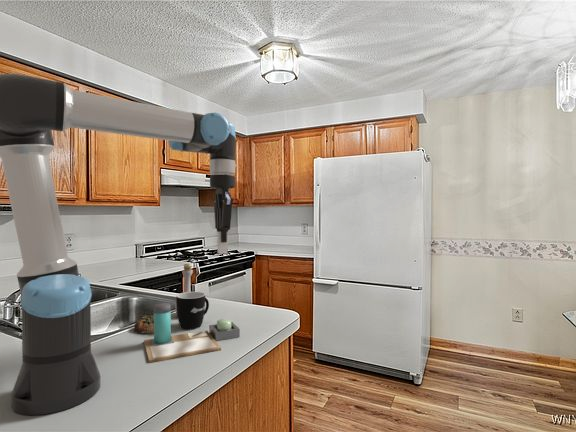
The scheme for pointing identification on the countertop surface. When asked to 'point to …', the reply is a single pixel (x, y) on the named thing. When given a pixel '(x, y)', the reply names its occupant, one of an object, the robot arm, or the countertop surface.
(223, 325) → the button
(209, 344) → the tan flat tray
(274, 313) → the countertop surface
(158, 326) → the teal cylinder
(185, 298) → the mug
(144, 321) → the bread roll
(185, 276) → the potion bottle
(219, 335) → the button housing
